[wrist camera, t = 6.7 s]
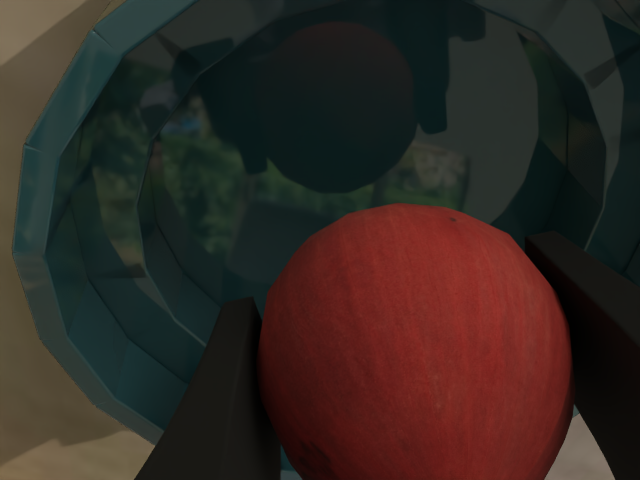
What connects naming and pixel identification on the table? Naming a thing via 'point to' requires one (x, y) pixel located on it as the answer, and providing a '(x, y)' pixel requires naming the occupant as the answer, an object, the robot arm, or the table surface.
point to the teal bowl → (303, 159)
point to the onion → (415, 352)
